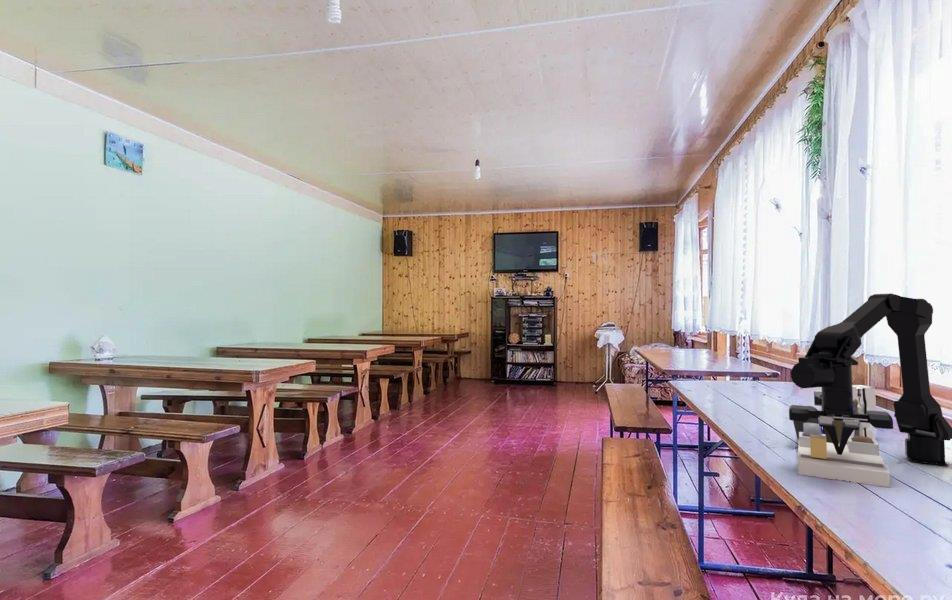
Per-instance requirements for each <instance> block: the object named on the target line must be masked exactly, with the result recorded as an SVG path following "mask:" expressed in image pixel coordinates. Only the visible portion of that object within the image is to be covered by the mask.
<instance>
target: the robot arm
mask: <svg viewBox="0 0 952 600" xmlns="http://www.w3.org/2000/svg"><path fill="white" fill-rule="evenodd" d="M933 313H934V308H933V305H932V303H930V302H928V301H927V300H926V299H925V298H912V297H911V298H910V297H907V296H901V295H898V294H894V293H874V294H872V295H870V296H869V297H868V299H867V301H865V302H864V303H863V304H861V305H860V306H859V307H858V308H857V309H856V310H854V311H853V312H852V313H851V314H850V315H849V316H847V317H846V318H845V319H844V320H842V321H841V322H839V323H836V324H832V325H830V326H827V327H824V328H823V329H821V330H819V331H818V332H817V333H816V334H815V335H814V339H813V340H812V343H811V344H810V347H809V348H808V349H807V352H806V354H805V356H804V357H803V356H801V357H800V356H799V357H798V362H797V363H795V364H794V365H793V367H792V369H791V371H790V378H791V381H792V383H793V384H794V385H796V387H798V388H801V389H813V388H821V391H813V396H814V397H813V403H814V406H819V407H821V410H819V409H817V410H809V406H810V405H797V404H792V405H790V406H789V407H788V418H789V420H790V421H792V422H793V421H804V422H805V421H807V420H808V419H809V418H817V419H818V421H819V426H820V427H822V428H823V427H825V429H826V431H827V432H828V434H829V436H830V438H831V440H832V442H833V445H834V447H835V450H836V452H837V454H838V455H842V453H843V451H844V448H845V446H846V443H847V441H848V439H849V437H850V436H851V434H852V432H853V431H854V430H860V429H859V426H858V424H859V422H865V423H870V424H871V425H872V426H873V428H875V429H885V430H894V420H893V417H894V418H895V421H896V424H897V427H898V431H899V433H903V434H904V433H905V434H907V438H906V437H905V438H904V451H905V452H904V453H905V456H906V457H907V458H908V459H909V461H910V462H913V463H919V464H921V463H922V464H929V465H938V466H945V467H947V466H948V463H947V461H946V448H945V446H946V444H945V441H951V440H952V426H951V424H949V422H948V421H947V420H946V418H945V417H944V415H943V411H942V406H941V405H940V404H939V402H938V401H937V400H936V399H935V398H934V397H933V395H932V393H931V388H930V380H929V379H930V378H929V369H928V368H929V367H928V358H927V350H926V349H927V348H926V340H925V336H926V333H927V331H928V330H929V329H930V327H931V325H932V324H933ZM884 318H886V322H887V326H888V327H889V328H890V329H891V330H892V331H893V333H895V335H896V336H897V346H898V355H899V364H900V366H899V367H900V376H901V383H902V384H901V385H902V395H901V396H900V397H899V399H898V400H895V401H893V404H892V405H893V410H894V415H893V417H892V416H891V415H890V413H889V412H887V411H881V410H880V411H879V410H875V411H868V410H867V414H857V413H853V389H852V385H853V370H852V369H853V367H852V366H858V365H859V362H858V361H857V360H856V359H854V358H853V357H852V356H854V355H855V353H856V352H857V351H858V349H859V348H860V347H861V345H862V338H863V336H864V335H866V334H867V332H869V331H870V330H871V329H872V328H874V326H876V325H877V324H878V323H880V321H881V320H883V319H884ZM828 415H830V416H828ZM831 415H832V416H831ZM789 420H788V421H789ZM834 420H841V434H840V443H839V444H838V439H837V434H836V429H835V424H834ZM842 421H843V422H842Z"/></svg>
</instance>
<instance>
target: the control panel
mask: <svg viewBox="0 0 952 600" xmlns="http://www.w3.org/2000/svg"><path fill="white" fill-rule="evenodd" d="M821 436H826V435H825V434H821ZM797 443H798V447H797V448H798V450H797V451H798V455H797V456H798V457H797V458H798V459H797V464H798V465H797V468H798V471H797V472H798V475H800V476H801V475H802V476H807V477H814V476H815V477H816V478H822V479H830V480H835V479H839V480H838V481H842V480H846V481H845V482H849V481H851V482H850V483H856V484H864V485H870V486H878V487H883V488H891V476H890V471H889V469H888V468H887V465H886V463H885V462H884V460H883V459H882V456H881V455H880V445H879V443H878V441H877V439H876V438H875V439H872V444H871V443H862V442H853V437H849V439H848V441H847V445H846V446H845V448H844V451H843V453H842V455H838V454H837V452H836V450H835V447H834V445H833V443H828V442H826V448H827V459H823V458H815V457H811V450H810V437H806V436H804V432H799V440H797Z"/></svg>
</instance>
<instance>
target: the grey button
mask: <svg viewBox="0 0 952 600" xmlns="http://www.w3.org/2000/svg"><path fill="white" fill-rule="evenodd" d="M803 427H804V436H806V437H810V434H811V435H821V427H820V426H819V424H816V423H803Z"/></svg>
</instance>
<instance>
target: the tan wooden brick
mask: <svg viewBox="0 0 952 600" xmlns="http://www.w3.org/2000/svg"><path fill="white" fill-rule="evenodd" d="M810 450H811V457H815V458H823V459H827V448H826V436H821V435H811V434H810Z"/></svg>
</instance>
